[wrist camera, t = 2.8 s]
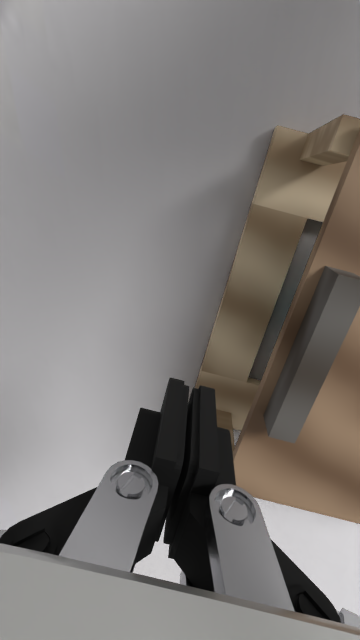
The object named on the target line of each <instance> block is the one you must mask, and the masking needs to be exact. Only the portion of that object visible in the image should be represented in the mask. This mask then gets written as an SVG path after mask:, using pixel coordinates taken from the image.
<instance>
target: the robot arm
mask: <svg viewBox="0 0 360 640" xmlns="http://www.w3.org/2000/svg"><path fill="white" fill-rule="evenodd" d="M188 396H189V386H185V385H184V381H182V380H178V379H174V378H170V379H169V382H168V386H167V389H166V393H165V397H164V400H163V404H162V408H161V412H156V411H152V410H148V409H144V408H140V411H139V414H138V418H137V421H136V424H135V428H134V431H133V434H132V438H131V441H130V444H129V448H128V451H127V455H126V458H125V460H124V461H120V462H117V463H115V464H114V465H112V466H111V467H110V468H109V469H108V470H107V472H106V473H105V475H104V477H103V479H102V480H101V482H100V484H99V486H98V487H96V488H94V489H92V490H90V491H87V492H85V493H83V494H81V495H78V496H76V497H74V498H72V499H69V500H67V501H65V502H63V503H60V504H58V505H56V506H54V507H52V508H49V509H47V510H45V511H43V512H40V513H38V514H36V515H34V516H31V517H29V518H27V519H25V520H23V521H20V522H18V523H17V524H15V525H13V526H12V527H10V528H9V529H8V530H0V640H360V616H358V615H356V614H354V613H352V612H350V611H348V610H346V609H344V608H342V609H341V611H340V612H339V611H337V610H336V609H335V608H334V606H333V604H332V603H331V602H330V601H329V599H328V598H327V597H326V596H325V595H324V593H323V592H322V591H321V590H320V589H319V588H318V587H317V586H316V585H315V584H314V583H313V582H312V581H311V580H310V579H309V578H308V577H307V576H306V575H305V574H304V573H303V572H302V571H301V570H300V569H299V568H298V567H297V566H296V565H295V564H294V563H293V562H292V561H291V559H290V558H289V557H288V556H287V555H286V554H285V553H284V552H283V551H282V550H281V549H280V548H279V547H278V546H277V545H276V544H275V543H274V542H273V541H272V540H271V539H270V536H269V533H268V530H267V527H266V524H265V521H264V518H263V515H262V512H261V509H260V507H259V505H258V503H257V501H256V500H255V499H254V498H253V496H252V495H251V494H249V493H248V492H247V491H246V490H244V489H242V488H240V487H238V486H236V479H235V470H234V461H233V452H232V443H231V434H230V431H229V430H228V429H224V428H220V427H217V415H216V398H215V389H214V388H210V387H206V386H202V385H200V386H199V388H198V389H197V388H193V390H192V393H191V396H190V399H189V403H188ZM165 520H166V523H165ZM164 523H165V532H164V543H165V544H170V545H169V555H168V558H172V559H174V560H175V561H176V563H177V564H178V565H179V567H180V568H181V570H182V571H181V574H180V584H177V583H173V582H169V581H165V580H161V579H156V578H152V577H148V576H144V575H139V574H135V573H133V571H134V567H135V564H136V563H137V562H139V561H140V560H142V559H143V558H145V557H146V556H148V555H149V554H151V552H152V549H153V546H154V543H155V541H157V542H158V541H159V538H160V535H161V532H162V529H163V526H164Z"/></svg>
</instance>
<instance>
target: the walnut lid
mask: <svg viewBox="0 0 360 640" xmlns="http://www.w3.org/2000/svg"><path fill="white" fill-rule="evenodd" d="M233 461H234V470H235V479H236V486H238V487H240V488H242V489H244V490H246V491H247V492H248V493H249V494H251V495H252V496H253V497H255V498H259V499H263V500H267V501H271V502H275V503H279V504H283V505H287V506H291V507H295V508H299V509H303V510H307V511H311V512H315V513H319V514H323V515H327V516H331V517H335V518H339V519H343V520H347V521H351V522H355V523H359V524H360V129H359V132H358V134H357V137H356V140H355V142H354V145H353V147H352V150H351V152H350V155H349V157H348V160H347V162H346V165H345V168H344V170H343V173H342V175H341V178H340V180H339V183H338V185H337V188H336V191H335V193H334V196H333V198H332V201H331V203H330V206H329V208H328V211H327V214H326V216H325V219H324V221H323V224H322V226H321V229H320V231H319V234H318V236H317V239H316V242H315V244H314V247H313V249H312V252H311V254H310V257H309V259H308V262H307V265H306V267H305V270H304V272H303V275H302V277H301V280H300V282H299V285H298V287H297V290H296V293H295V295H294V298H293V300H292V303H291V305H290V308H289V310H288V313H287V316H286V318H285V321H284V323H283V326H282V328H281V331H280V333H279V336H278V339H277V341H276V344H275V346H274V349H273V351H272V354H271V356H270V359H269V361H268V364H267V367H266V369H265V372H264V374H263V377H262V379H261V382H260V384H259V387H258V390H257V392H256V395H255V397H254V400H253V402H252V405H251V407H250V410H249V412H248V415H247V418H246V420H245V423H244V425H243V428H242V430H241V433H240V435H239V438H238V441H237V443H236V446H235V448H234V451H233Z"/></svg>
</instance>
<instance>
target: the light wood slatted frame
mask: <svg viewBox="0 0 360 640" xmlns="http://www.w3.org/2000/svg"><path fill="white" fill-rule="evenodd" d="M359 129H360V119H359V118H355V117H351V116H348V115H344V114H343V115H341V116H340V117H338V118H336V119H334V120H332V121H331V122H329V123H327V124H325V125H323V126H322V127H320V128H318V129H316V130H314V131H313V132H311V133H309V134H308V133H304V132H300V131H296V130H293V129H289V128H285V127H282V126H278V125H277V126H276V127H275V129H274V132H273V135H272V139H271V142H270V145H269V148H268V152H267V155H266V158H265V161H264V165H263V168H262V171H261V174H260V177H259V181H258V184H257V187H256V190H255V194H254V197H253V200H252V203H251V207H250V210H249V213H248V216H247V220H246V223H245V226H244V229H243V233H242V236H241V239H240V242H239V245H238V249H237V252H236V255H235V258H234V262H233V265H232V268H231V271H230V275H229V278H228V281H227V284H226V288H225V291H224V294H223V297H222V301H221V304H220V307H219V310H218V313H217V317H216V320H215V323H214V326H213V330H212V333H211V336H210V339H209V343H208V346H207V349H206V352H205V356H204V359H203V362H202V365H201V368H200V372H199V375H198V378H197V381H196V385H195V388H197V389H198V388H199V386H200V385H202V386H206V387H210V388H214V389H215V398H216V415H217V427H220V428H224V429H228V430H229V431H230V434H231V443H232V452H233V451H234V448H235V445H234V435H233V429H236V430H240V431H241V430H242V428H243V425H244V423H245V420H246V418H247V415H248V412H249V410H250V407H251V405H252V402H253V400H254V397H255V395H256V392H257V390H258V387H259V384H260V382H261V380H257V379H253V378H249V377H248V376H249V374H250V371H251V368H252V366H253V363H254V360H255V358H256V355H257V352H258V350H259V347H260V344H261V342H262V339H263V336H264V333H265V331H266V328H267V325H268V323H269V320H270V317H271V315H272V312H273V309H274V307H275V304H276V301H277V299H278V296H279V293H280V291H281V288H282V285H283V283H284V280H285V277H286V275H287V272H288V269H289V267H290V264H291V261H292V259H293V256H294V253H295V251H296V248H297V245H298V243H299V240H300V237H301V235H302V232H303V229H304V226H305V224H306V221H307V218H309V219H312V220H316V221H320V222H323V221H324V219H325V216H326V214H327V211H328V208H329V206H330V203H331V201H332V198H333V196H334V193H335V191H336V188H337V185H338V183H339V180H340V178H341V175H342V173H343V170H344V168H345V165H346V162H347V160H348V157H349V155H350V152H351V150H352V147H353V145H354V142H355V140H356V137H357V134H358V132H359Z"/></svg>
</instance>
